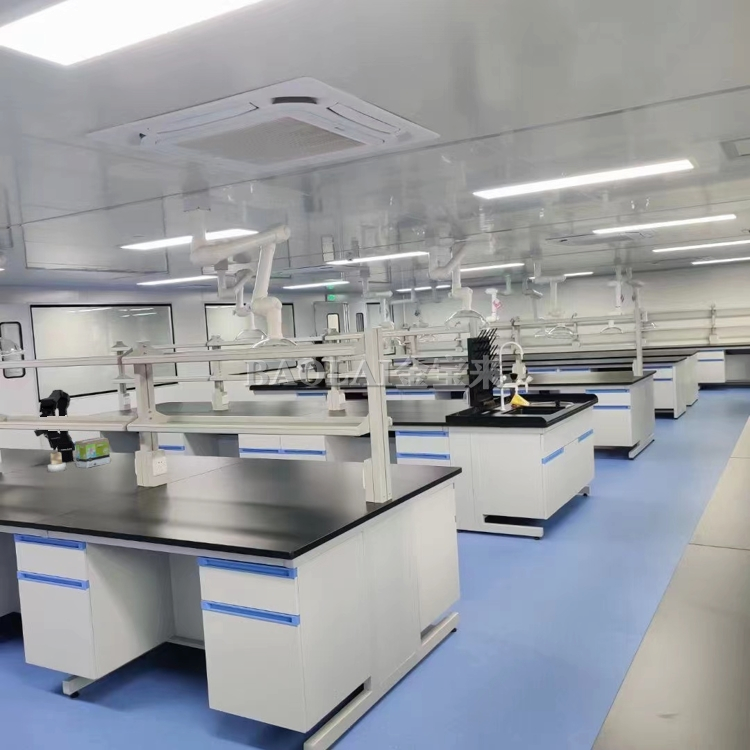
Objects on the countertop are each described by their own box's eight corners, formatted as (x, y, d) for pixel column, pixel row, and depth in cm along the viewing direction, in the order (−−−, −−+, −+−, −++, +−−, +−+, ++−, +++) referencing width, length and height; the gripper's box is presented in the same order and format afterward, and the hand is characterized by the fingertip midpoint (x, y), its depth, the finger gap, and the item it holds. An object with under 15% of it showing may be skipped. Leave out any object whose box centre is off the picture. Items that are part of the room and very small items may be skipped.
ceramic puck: (64, 468, 373) (64, 461, 373) (67, 470, 366) (66, 463, 366) (47, 471, 368) (46, 464, 368) (49, 473, 361) (48, 466, 361)
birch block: (60, 462, 370) (59, 451, 370) (62, 463, 366) (61, 453, 366) (50, 464, 368) (49, 453, 367) (52, 465, 363) (51, 454, 363)
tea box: (87, 468, 368) (85, 442, 367) (76, 467, 374) (74, 441, 373) (110, 463, 381) (108, 437, 380) (99, 462, 386) (97, 436, 385)
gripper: (32, 421, 371) (34, 449, 372) (36, 425, 356) (39, 453, 357) (53, 418, 377) (56, 446, 379) (59, 422, 362) (62, 450, 363)
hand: (53, 449), depth 369 cm, fingers open, 9 cm apart
